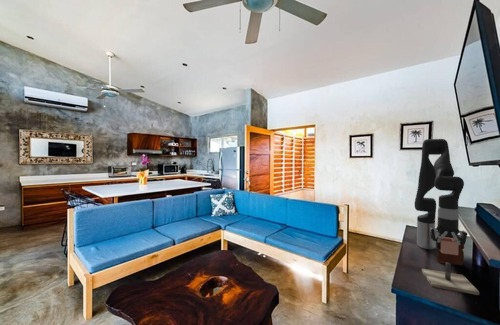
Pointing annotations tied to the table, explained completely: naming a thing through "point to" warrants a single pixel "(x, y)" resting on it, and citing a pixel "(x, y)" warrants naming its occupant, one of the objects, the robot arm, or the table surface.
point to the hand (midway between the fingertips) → (447, 250)
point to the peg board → (449, 280)
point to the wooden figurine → (451, 256)
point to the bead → (449, 246)
